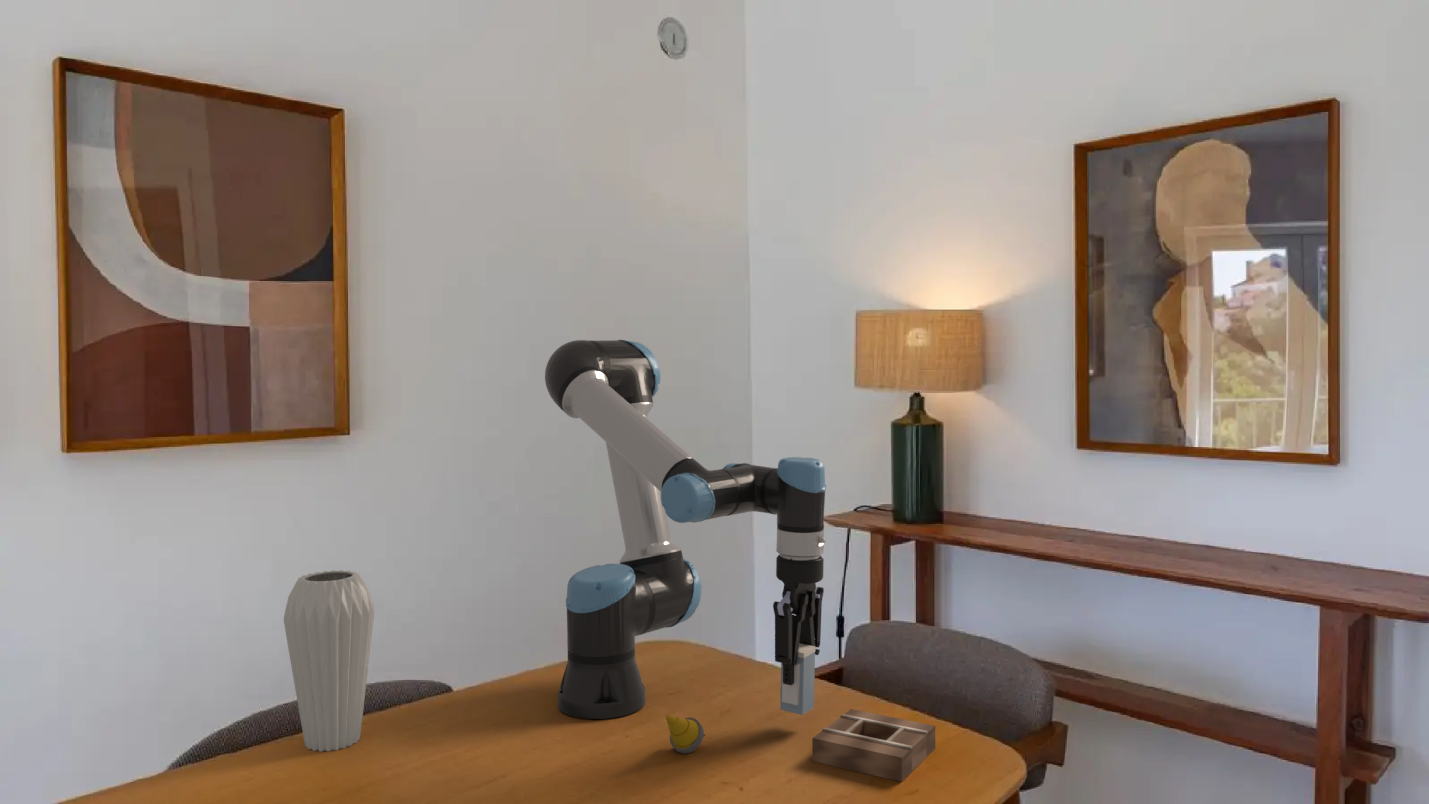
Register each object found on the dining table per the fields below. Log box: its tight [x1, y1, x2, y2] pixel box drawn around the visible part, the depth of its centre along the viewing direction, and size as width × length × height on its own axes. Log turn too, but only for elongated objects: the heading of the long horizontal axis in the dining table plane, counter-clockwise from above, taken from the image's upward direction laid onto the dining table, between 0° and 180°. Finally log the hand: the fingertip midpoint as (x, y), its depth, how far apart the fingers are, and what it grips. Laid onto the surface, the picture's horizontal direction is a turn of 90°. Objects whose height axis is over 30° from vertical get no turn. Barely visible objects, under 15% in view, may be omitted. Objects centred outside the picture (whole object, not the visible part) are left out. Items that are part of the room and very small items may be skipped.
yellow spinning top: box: [665, 715, 706, 755], centre depth 149 cm, size 5×5×10 cm
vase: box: [283, 569, 375, 753], centre depth 154 cm, size 13×13×26 cm
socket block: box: [811, 708, 936, 783], centre depth 148 cm, size 14×14×4 cm
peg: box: [780, 643, 817, 716], centre depth 158 cm, size 4×4×10 cm
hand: (797, 698), depth 158 cm, fingers closed on peg, 4 cm apart
